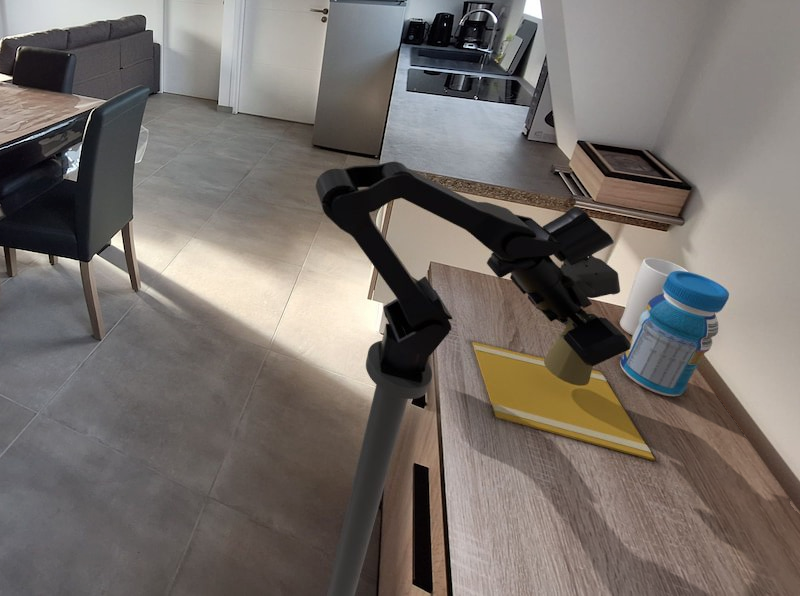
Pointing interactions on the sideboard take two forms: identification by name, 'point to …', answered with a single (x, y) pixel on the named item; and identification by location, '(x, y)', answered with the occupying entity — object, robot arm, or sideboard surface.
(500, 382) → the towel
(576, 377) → the cork
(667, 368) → the blue plastic jar
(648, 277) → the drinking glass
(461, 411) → the sideboard surface
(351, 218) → the robot arm
